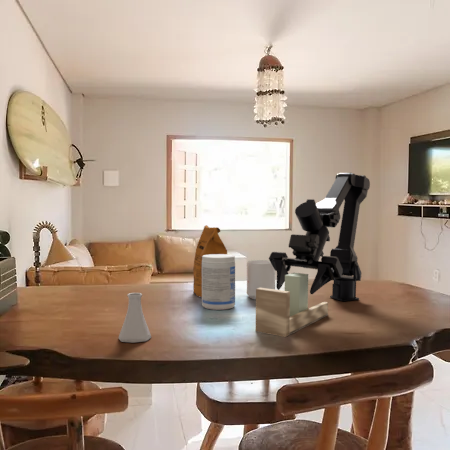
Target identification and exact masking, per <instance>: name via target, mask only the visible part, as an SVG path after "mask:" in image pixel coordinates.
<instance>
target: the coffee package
mask: <svg viewBox="0 0 450 450" xmlns="http://www.w3.org/2000/svg"><path fill="white" fill-rule="evenodd" d="M219 233H221V228H219V227H209V226H208V225H204V226H203V229H202V232H201V234H200V236H199V237H200V238H199V239H198V242H197V245H196V248H195V252H194V253H195V254H194V260H193V269H192V271H193V284H192V285H193V294H195V295H196V296H197V297H198V298H202V256H203V255H208V254H228V249H227V247H226V246H225V244H224V242H223V240H222V238H221V237H220V234H219Z"/></svg>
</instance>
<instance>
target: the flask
mask: <svg viewBox="0 0 450 450" xmlns="http://www.w3.org/2000/svg"><path fill="white" fill-rule="evenodd" d="M126 296H127V297H128V306H127V311H126V315H125V318H124V320H123V324H122V327H121V329H120V332H119V335H118V340H119V341H120V342H123V343H132V344H134V343H141V342H148V341H149V340H150V339H151V338H152V335H151V332H150V328H149V327H148V324H147V321H146V319H145V316H144V312H143V306H142V296H143V294H142V293H141V292H130V293H127V295H126Z"/></svg>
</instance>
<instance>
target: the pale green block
mask: <svg viewBox="0 0 450 450" xmlns="http://www.w3.org/2000/svg"><path fill="white" fill-rule="evenodd" d="M284 291H289V292H290V317H291V316H293V315H295V314H297V313H300V312H302V311H304V310H306V309H309V308H308V307H309V274H308V273H303V272H302V273H301V272H291V273H289V274H287V275H285V282H284Z"/></svg>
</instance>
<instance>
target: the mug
mask: <svg viewBox="0 0 450 450" xmlns="http://www.w3.org/2000/svg"><path fill="white" fill-rule="evenodd" d="M257 288H267V289H275V290H276V271H275V269H274V268H273V266H272V264H271V262H270V260H269V259H253V260H252V259H251V260H247V261H246V294H247V296H248V298H250V299H252V300H256V289H257Z"/></svg>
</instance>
